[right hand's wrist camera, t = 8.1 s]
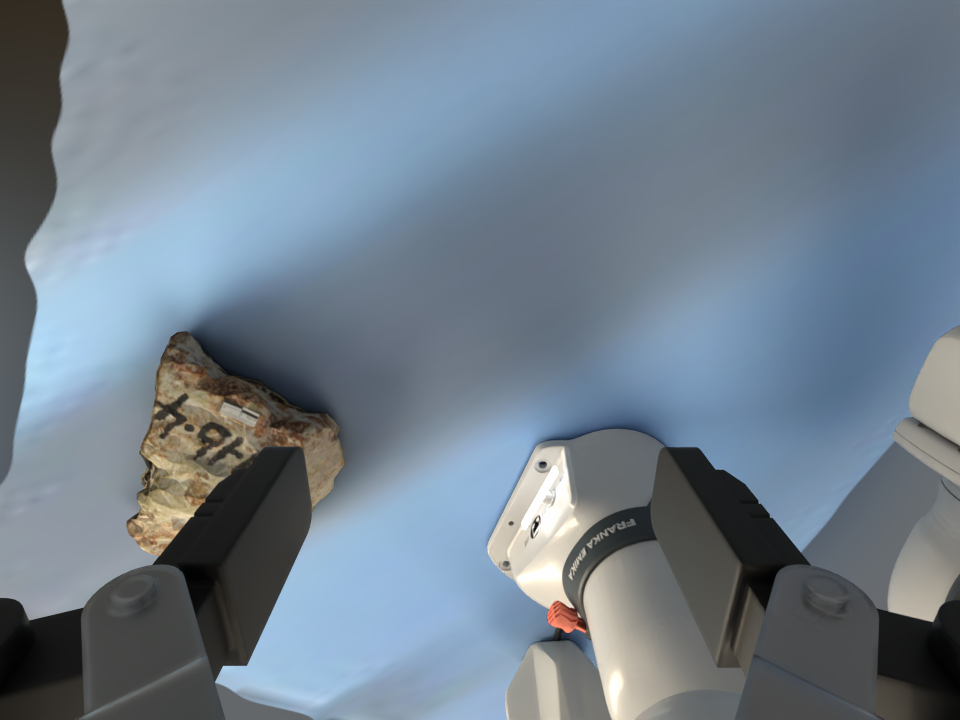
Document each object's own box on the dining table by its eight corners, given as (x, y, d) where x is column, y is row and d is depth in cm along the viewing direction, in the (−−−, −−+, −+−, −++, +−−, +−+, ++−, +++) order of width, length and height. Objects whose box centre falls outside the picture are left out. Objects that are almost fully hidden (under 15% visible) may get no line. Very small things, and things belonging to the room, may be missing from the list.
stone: (360, 442, 45) (259, 628, 53) (373, 413, 51) (279, 585, 58) (148, 342, 42) (72, 556, 49) (186, 322, 47) (113, 518, 55)
